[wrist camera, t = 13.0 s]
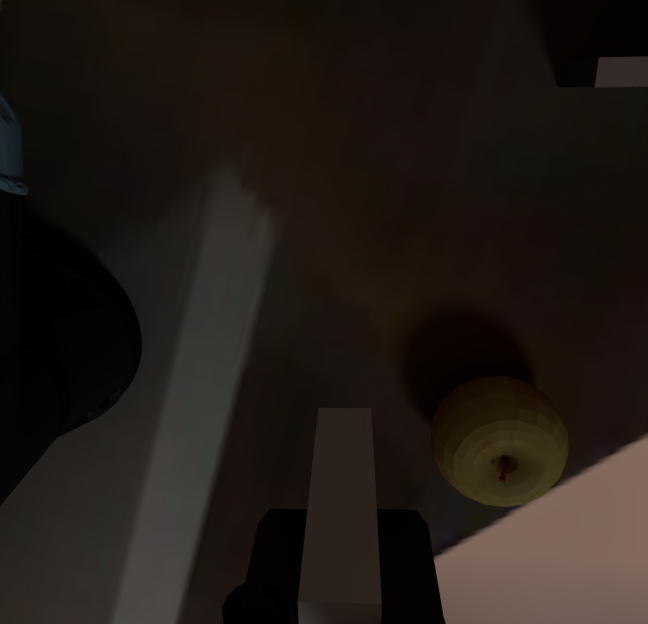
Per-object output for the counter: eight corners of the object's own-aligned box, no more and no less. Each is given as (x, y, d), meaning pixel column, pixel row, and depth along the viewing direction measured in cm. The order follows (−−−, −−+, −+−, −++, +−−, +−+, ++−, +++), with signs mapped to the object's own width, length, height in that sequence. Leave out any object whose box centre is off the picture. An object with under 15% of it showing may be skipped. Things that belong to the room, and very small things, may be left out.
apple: (412, 451, 48) (423, 518, 40) (440, 348, 44) (458, 401, 37) (526, 470, 48) (559, 541, 41) (564, 369, 44) (606, 427, 37)
